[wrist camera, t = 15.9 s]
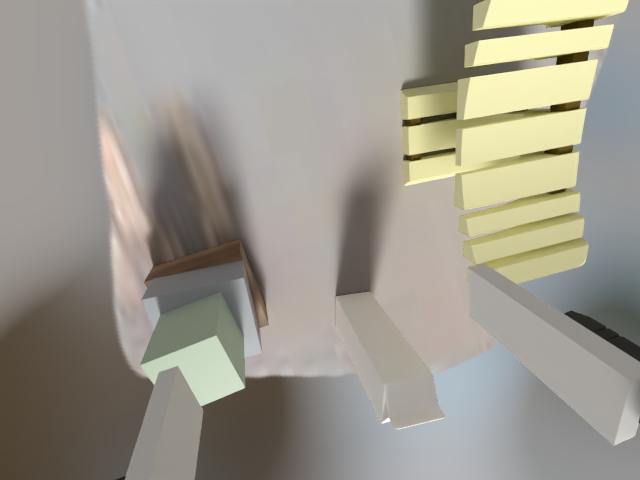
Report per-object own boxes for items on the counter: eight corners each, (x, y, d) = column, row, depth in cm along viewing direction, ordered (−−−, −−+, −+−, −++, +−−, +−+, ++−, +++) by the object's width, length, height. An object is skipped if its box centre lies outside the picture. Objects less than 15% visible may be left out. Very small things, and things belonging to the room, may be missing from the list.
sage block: (160, 314, 35) (140, 365, 28) (220, 291, 36) (216, 335, 29) (188, 359, 38) (176, 416, 31) (244, 337, 39) (245, 387, 32)
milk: (335, 295, 52) (396, 407, 31) (370, 290, 53) (450, 394, 33) (335, 327, 54) (392, 450, 34) (368, 321, 55) (443, 437, 35)
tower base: (154, 265, 43) (144, 282, 39) (239, 237, 45) (239, 251, 40) (189, 332, 48) (184, 354, 44) (265, 305, 50) (268, 324, 45)
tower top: (152, 278, 39) (141, 299, 34) (243, 260, 41) (243, 277, 36) (178, 349, 43) (171, 376, 38) (259, 329, 45) (261, 353, 40)
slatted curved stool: (492, 217, 53) (602, 260, 37) (405, 237, 51) (483, 292, 35) (509, 4, 42) (679, -68, 26) (398, 15, 39) (510, -58, 23)
